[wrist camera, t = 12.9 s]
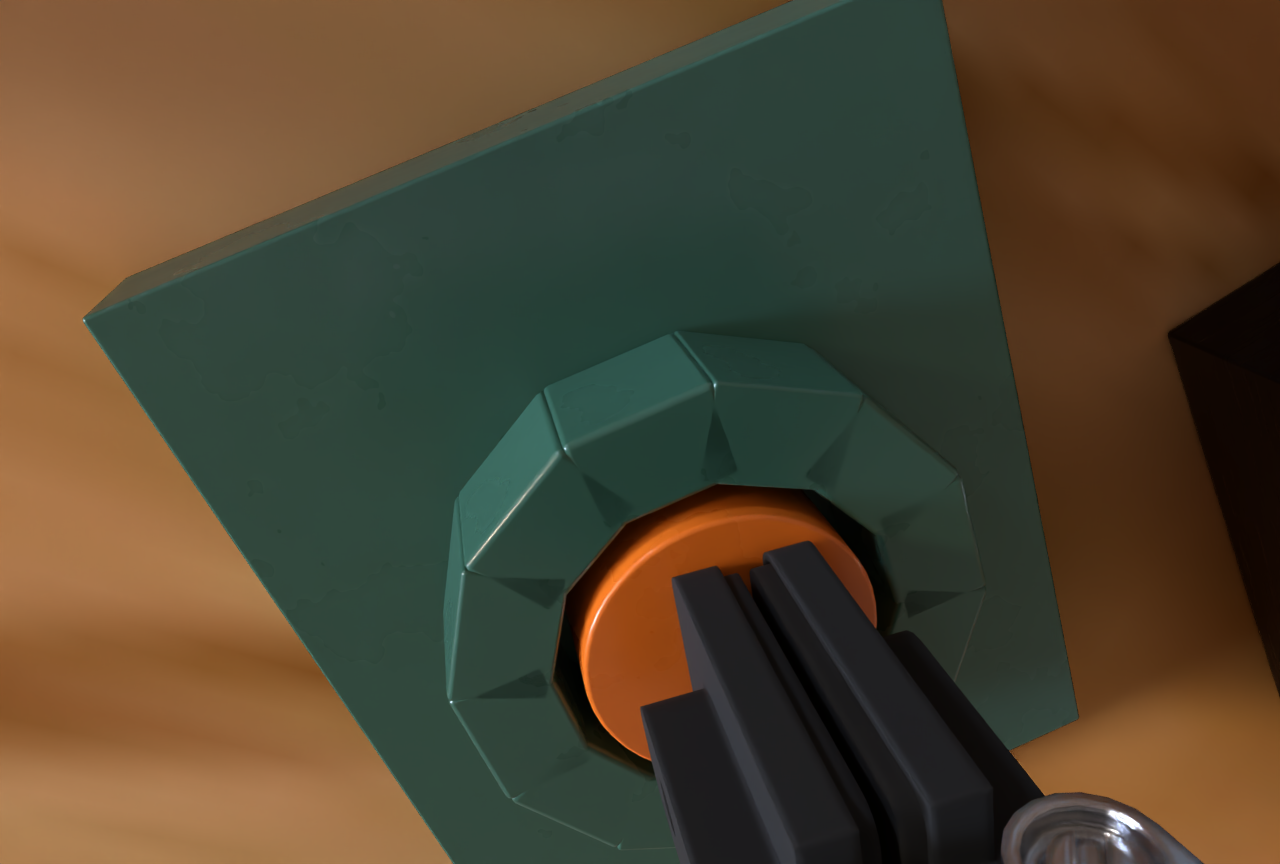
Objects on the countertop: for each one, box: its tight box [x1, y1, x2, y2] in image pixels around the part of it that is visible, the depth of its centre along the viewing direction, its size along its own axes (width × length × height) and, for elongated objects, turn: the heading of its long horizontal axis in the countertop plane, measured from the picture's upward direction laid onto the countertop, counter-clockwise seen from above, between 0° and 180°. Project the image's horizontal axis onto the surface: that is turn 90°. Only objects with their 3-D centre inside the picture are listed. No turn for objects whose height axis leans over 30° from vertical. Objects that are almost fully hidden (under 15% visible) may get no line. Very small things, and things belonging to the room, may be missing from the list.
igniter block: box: [83, 0, 1079, 864], centre depth 13 cm, size 12×10×4 cm
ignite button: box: [565, 484, 877, 761], centre depth 12 cm, size 4×4×2 cm
